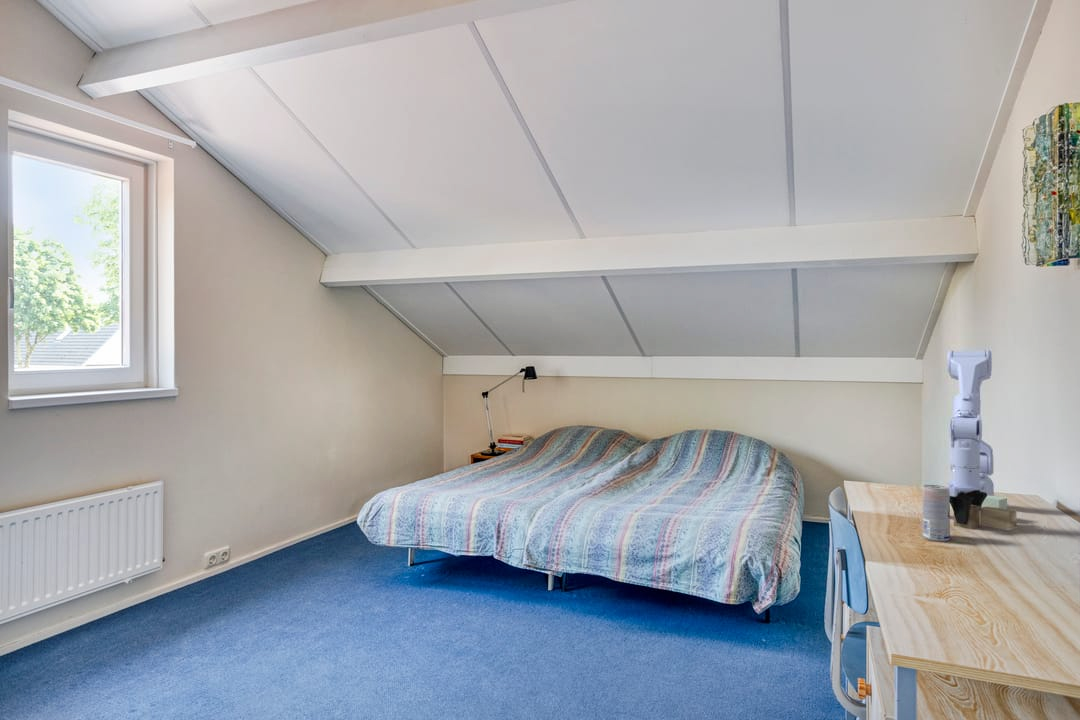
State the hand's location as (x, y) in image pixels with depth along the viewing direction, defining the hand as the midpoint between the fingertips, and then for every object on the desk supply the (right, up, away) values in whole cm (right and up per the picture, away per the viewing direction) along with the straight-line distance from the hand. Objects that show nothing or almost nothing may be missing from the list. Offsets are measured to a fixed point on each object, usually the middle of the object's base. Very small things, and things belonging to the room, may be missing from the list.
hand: (966, 522), depth 162 cm
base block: (+8, -1, 0) cm, 8 cm away
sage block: (+11, -1, +6) cm, 13 cm away
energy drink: (-13, -2, -9) cm, 16 cm away
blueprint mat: (+9, -1, +3) cm, 9 cm away
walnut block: (0, -1, 0) cm, 1 cm away
